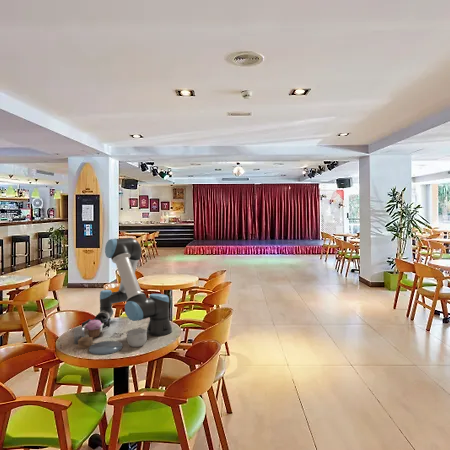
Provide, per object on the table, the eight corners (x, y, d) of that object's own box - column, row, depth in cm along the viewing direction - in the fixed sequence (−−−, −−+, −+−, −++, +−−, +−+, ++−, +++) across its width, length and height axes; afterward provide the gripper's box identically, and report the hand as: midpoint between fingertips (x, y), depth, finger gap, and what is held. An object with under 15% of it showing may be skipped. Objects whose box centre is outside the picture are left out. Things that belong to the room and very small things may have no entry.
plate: (126, 343, 204) (126, 341, 204) (114, 355, 187) (114, 352, 187) (97, 342, 205) (97, 340, 205) (83, 353, 188) (83, 351, 188)
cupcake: (84, 336, 216) (83, 319, 215) (98, 333, 222) (97, 316, 221) (90, 340, 209) (90, 323, 209) (104, 336, 215) (104, 319, 215)
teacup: (141, 349, 195) (141, 334, 194) (123, 348, 197) (122, 333, 197) (152, 340, 208) (152, 326, 208) (134, 339, 210) (134, 325, 210)
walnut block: (92, 344, 203) (92, 337, 203) (89, 348, 197) (89, 340, 197) (81, 344, 203) (81, 337, 203) (77, 348, 197) (77, 341, 197)
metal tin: (86, 340, 208) (86, 326, 208) (81, 344, 203) (81, 330, 203) (77, 340, 209) (77, 326, 209) (72, 343, 203) (72, 329, 203)
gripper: (119, 323, 234) (111, 334, 212) (84, 324, 232) (72, 335, 210) (119, 311, 234) (110, 322, 211) (84, 312, 232) (72, 323, 210)
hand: (91, 329), depth 211 cm, fingers closed on cupcake, 9 cm apart
